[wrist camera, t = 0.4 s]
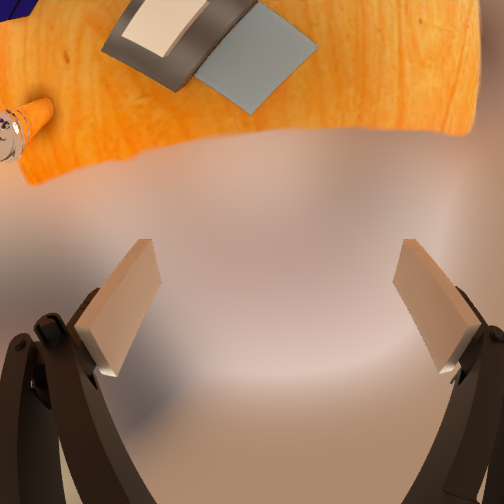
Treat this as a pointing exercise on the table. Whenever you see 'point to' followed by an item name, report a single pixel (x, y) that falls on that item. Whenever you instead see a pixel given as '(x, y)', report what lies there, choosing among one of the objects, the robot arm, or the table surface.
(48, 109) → the cup with straw
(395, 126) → the table surface
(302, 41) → the mat
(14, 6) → the puzzle cube
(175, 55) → the grey flat block
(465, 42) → the table surface
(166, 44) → the tile
